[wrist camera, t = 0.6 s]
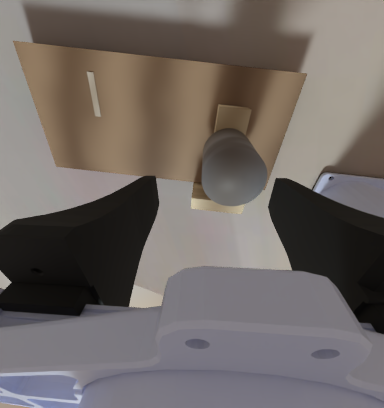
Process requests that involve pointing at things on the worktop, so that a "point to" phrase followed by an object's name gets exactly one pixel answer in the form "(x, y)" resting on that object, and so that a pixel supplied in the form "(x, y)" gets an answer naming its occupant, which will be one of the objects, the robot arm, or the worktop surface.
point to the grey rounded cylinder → (229, 165)
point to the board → (149, 108)
